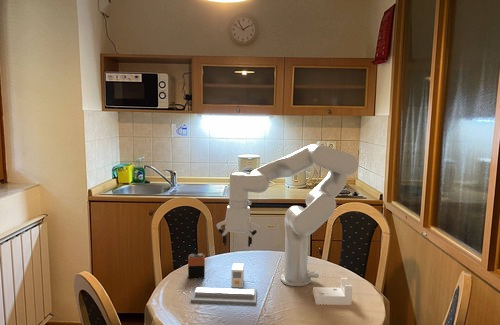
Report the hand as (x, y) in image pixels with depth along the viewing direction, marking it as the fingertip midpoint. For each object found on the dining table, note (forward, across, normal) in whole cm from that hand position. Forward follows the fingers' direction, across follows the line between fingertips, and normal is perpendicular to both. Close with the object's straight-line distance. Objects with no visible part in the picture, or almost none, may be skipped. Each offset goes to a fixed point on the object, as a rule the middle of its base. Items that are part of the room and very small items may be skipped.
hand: (237, 245), depth 151 cm
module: (+16, -1, 0) cm, 16 cm away
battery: (+17, +17, -5) cm, 25 cm away
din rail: (+16, +3, +12) cm, 21 cm away
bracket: (+16, -37, +11) cm, 42 cm away
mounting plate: (+16, +3, +12) cm, 21 cm away
